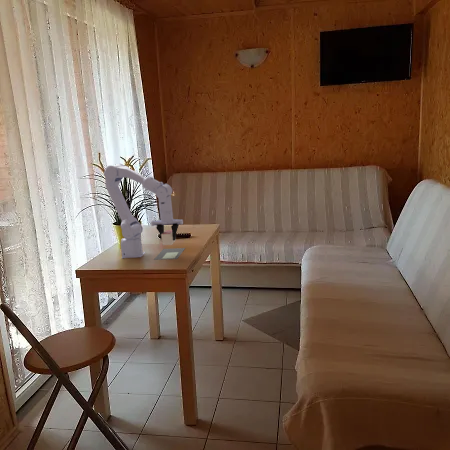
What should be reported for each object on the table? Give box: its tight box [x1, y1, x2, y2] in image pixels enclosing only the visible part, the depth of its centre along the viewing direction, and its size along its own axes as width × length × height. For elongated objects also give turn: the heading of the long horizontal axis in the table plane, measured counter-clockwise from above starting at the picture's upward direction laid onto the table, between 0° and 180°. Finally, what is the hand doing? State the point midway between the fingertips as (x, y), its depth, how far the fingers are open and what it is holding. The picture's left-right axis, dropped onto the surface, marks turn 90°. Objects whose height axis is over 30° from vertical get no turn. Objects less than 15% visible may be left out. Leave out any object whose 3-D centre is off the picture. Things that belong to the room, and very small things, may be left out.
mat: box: [153, 247, 186, 261], centre depth 210 cm, size 11×18×1 cm, turn 173°
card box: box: [160, 229, 177, 246], centre depth 205 cm, size 8×4×5 cm, turn 173°
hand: (169, 240), depth 205 cm, fingers closed on card box, 4 cm apart
